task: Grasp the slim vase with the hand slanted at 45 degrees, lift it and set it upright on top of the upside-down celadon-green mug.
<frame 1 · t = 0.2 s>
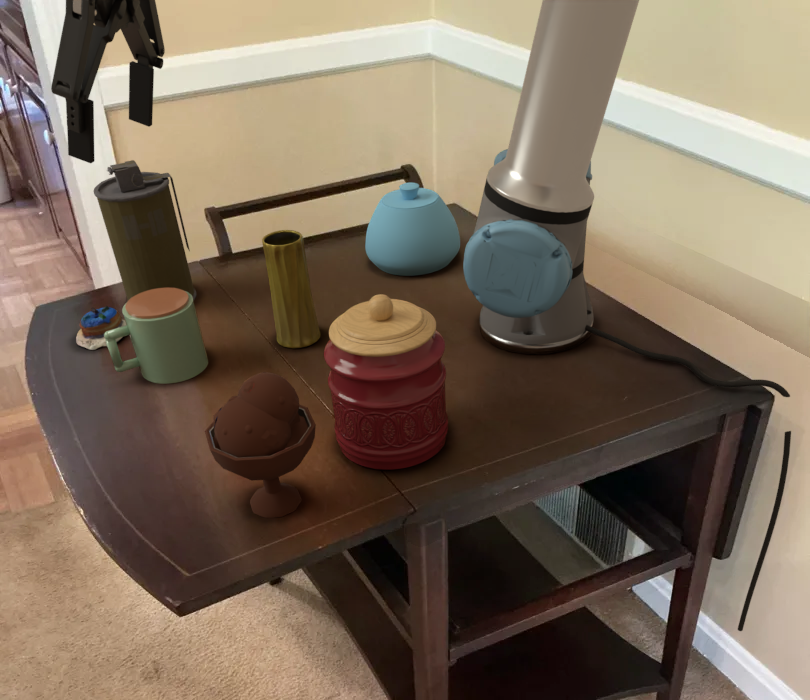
hand: (112, 139, 99), 28 cm above the table, tool tilted 20°, fingers open, 13 cm apart
vase: (298, 339, 118), on the table
sugar bowl: (413, 260, 135), on the table
canister: (164, 301, 130), on the table
ice cream bowl: (276, 503, 91), on the table
mug: (175, 366, 114), on the table
dessert: (103, 337, 122), on the table
kitchen canister: (392, 440, 98), on the table
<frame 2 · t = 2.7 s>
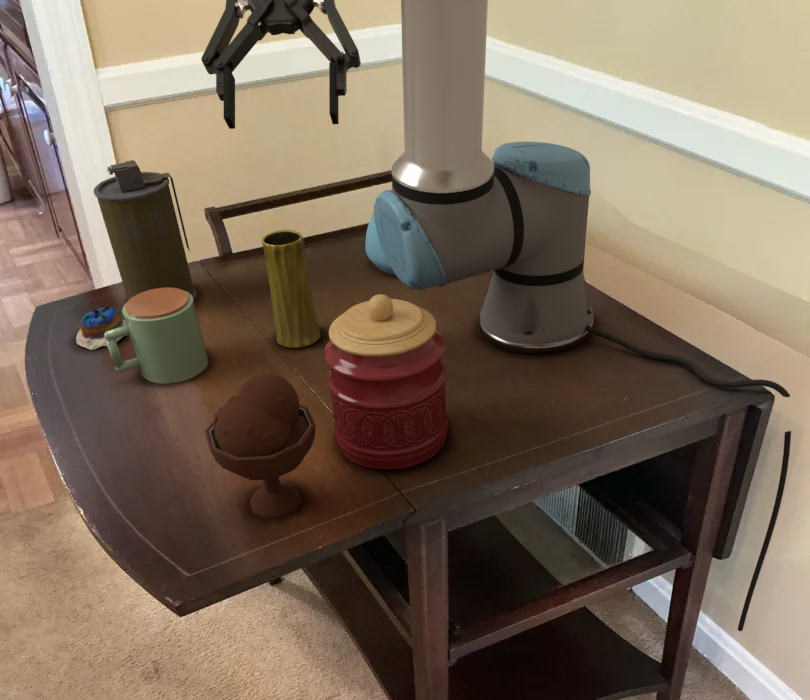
hand: (281, 121, 108), 25 cm above the table, tool tilted 45°, fingers open, 13 cm apart
nothing on the table moved.
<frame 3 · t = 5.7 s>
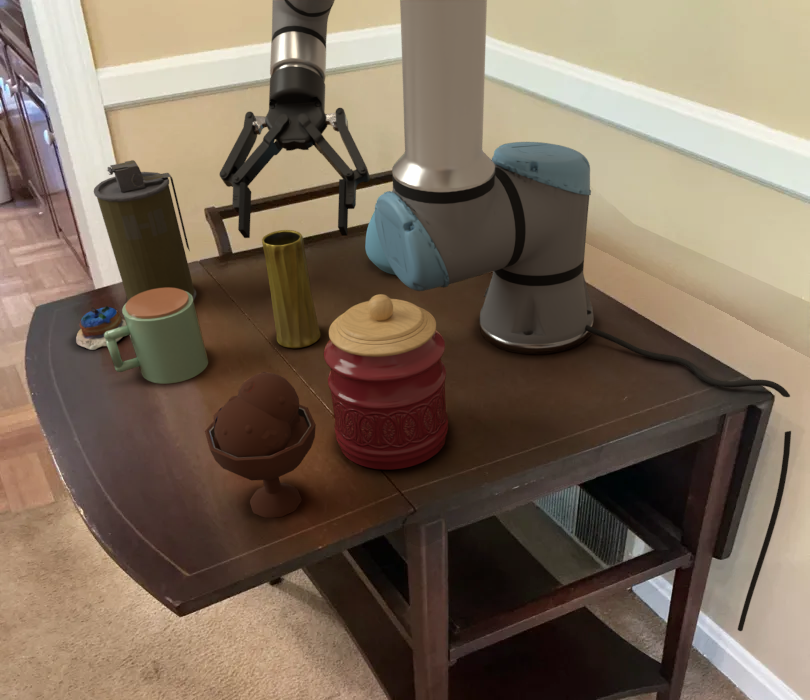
hand: (292, 233, 114), 12 cm above the table, tool tilted 45°, fingers open, 13 cm apart
nothing on the table moved.
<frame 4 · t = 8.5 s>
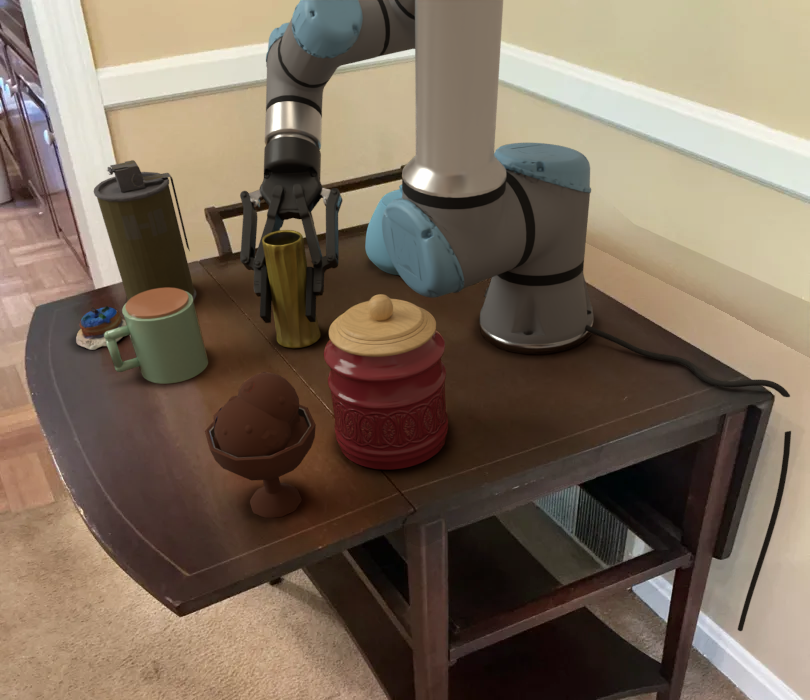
hand: (287, 318, 112), 5 cm above the table, tool tilted 45°, fingers closed on vase, 5 cm apart
vase: (298, 339, 118), on the table, touching gripper
everything else where it was.
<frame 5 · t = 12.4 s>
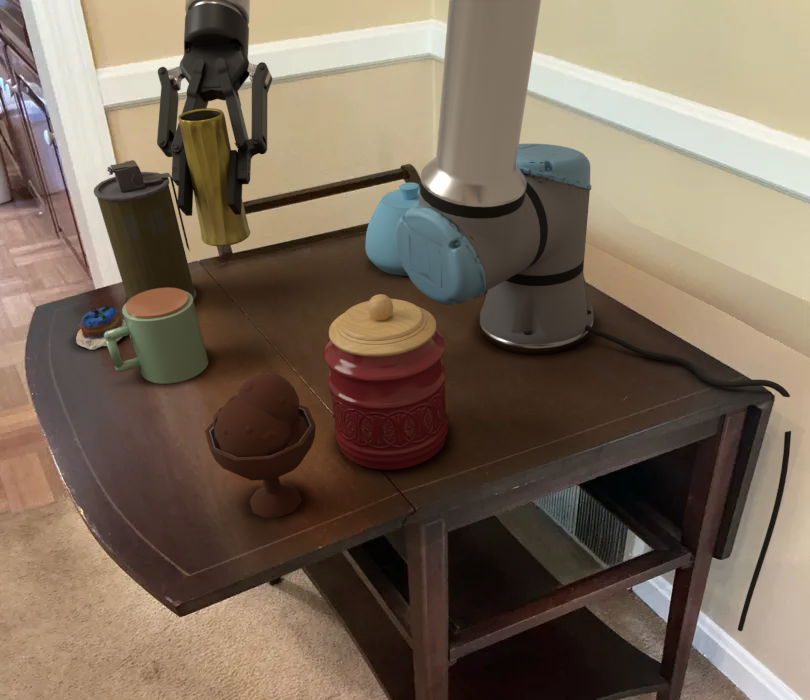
hand: (209, 209, 100), 20 cm above the table, tool tilted 45°, fingers closed on vase, 5 cm apart
vase: (226, 238, 106), point 15 cm above the table, touching gripper
everything else where it was.
when the fingers open (14 cm above the table, at t = 16.1 s): vase stays where it is, resting on mug.
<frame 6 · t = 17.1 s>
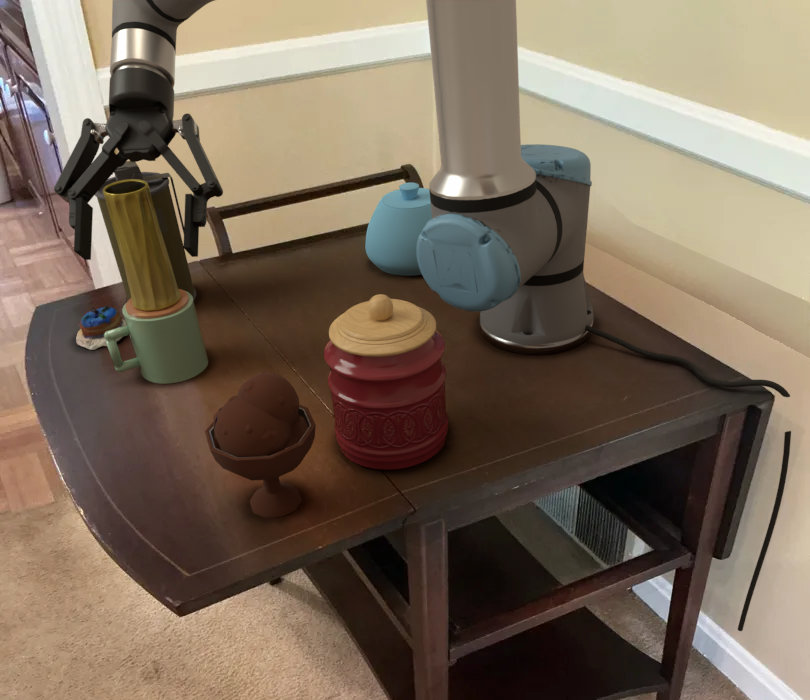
hand: (136, 254, 101), 17 cm above the table, tool tilted 45°, fingers open, 13 cm apart
vase: (157, 302, 108), point 9 cm above the table, touching mug
everything else where it was.
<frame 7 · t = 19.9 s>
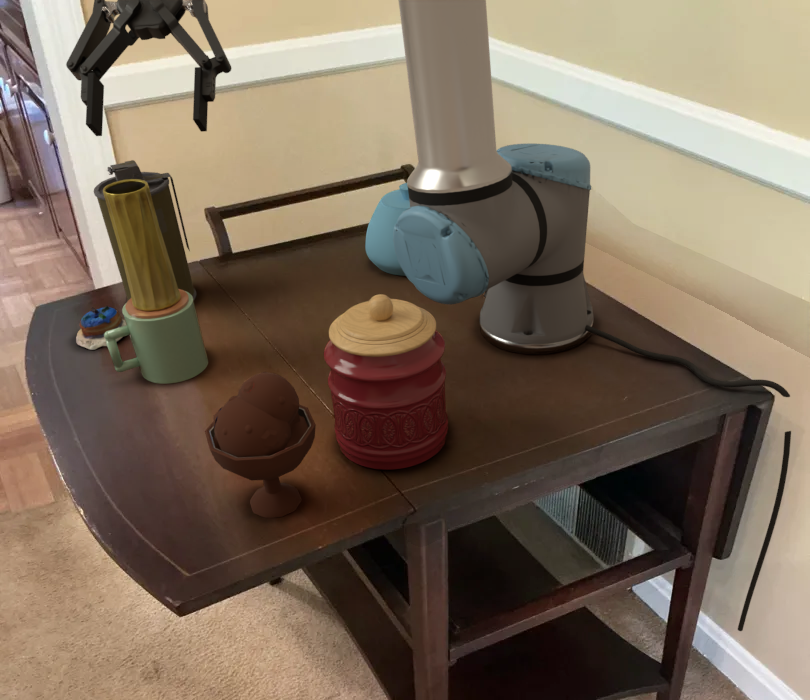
hand: (146, 128, 104), 27 cm above the table, tool tilted 45°, fingers open, 13 cm apart
nothing on the table moved.
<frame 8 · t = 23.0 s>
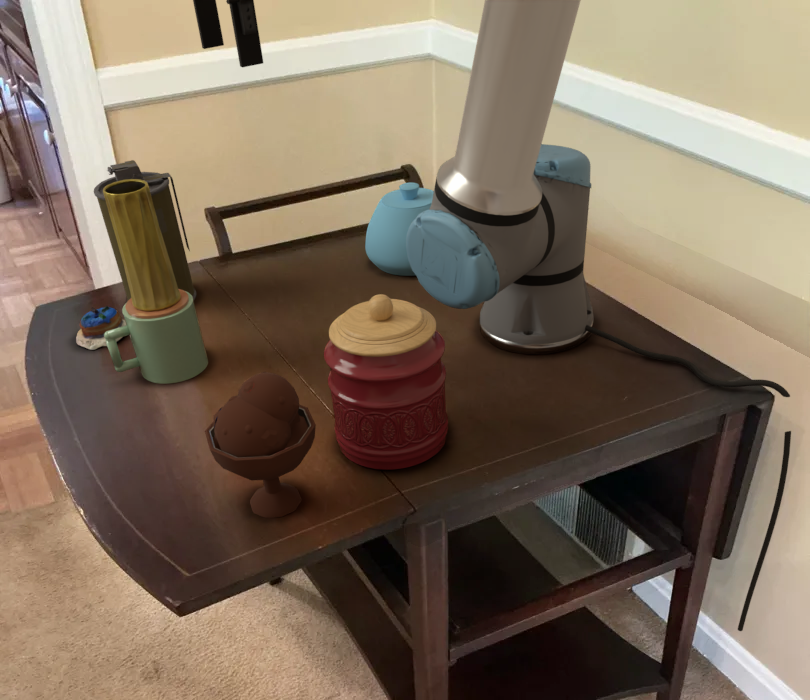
hand: (231, 55, 105), 33 cm above the table, tool pointing down, fingers open, 13 cm apart
nothing on the table moved.
at the end: vase 0.1 cm off-centre on the mug, point 9.2 cm above the mug's base; vase tilted 0°; the gripper is holding nothing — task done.
